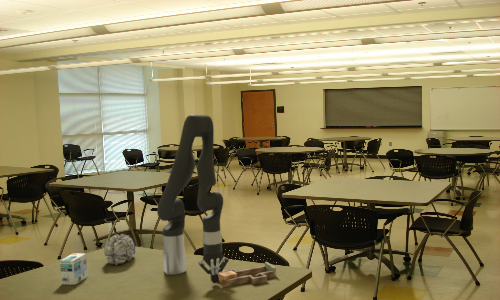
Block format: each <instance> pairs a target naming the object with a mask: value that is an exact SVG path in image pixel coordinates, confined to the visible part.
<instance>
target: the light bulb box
mask: <svg viewBox="0 0 500 300" xmlns="http://www.w3.org/2000/svg"><path fill="white" fill-rule="evenodd" d="M87 259H88V257H87V253H81V252H80V253H76V252H75V253H74V252H73V253H71V254H70V255H68V256H65V257H64V258H61V259H60V260H59V265H60V266H59V267H60V278H61V285H69V286H71V285H74V286H75V285H76V284H79V283H80V282H82V281H84V280H85V279H87V278H89V276H88V275H89V273H88V271H89V270H88V261H87Z"/></svg>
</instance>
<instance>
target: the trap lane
mask: <svg viewBox="0 0 500 300" xmlns="http://www.w3.org/2000/svg"><path fill="white" fill-rule="evenodd" d="M231 270H232V271H233V272H235V273H237V278H232V279H227V280H221V283H220V284H221V287H222V288H227V287H231V286H232V287H233V286H236V285H237V286H238V285H242V284H246V283H250V284H251V285H252V286H254V285H259V284H263V283H268V279H271V278H277V267H276V266H274V265H273V264H272V263H269V262H268V261H265V262H264V265H261V266H256V267H251V268H246V269H241V270H238V269H237V268H231V269H230V268H229V269H223V271H222V272H226V271H231ZM222 272H220V273H222ZM253 275H254V276H253ZM217 283H219V273H218V281H217Z"/></svg>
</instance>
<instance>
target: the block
mask: <svg viewBox="0 0 500 300" xmlns="http://www.w3.org/2000/svg"><path fill="white" fill-rule="evenodd" d="M218 274H219V281H218V283H219V284H221V280H227V279H232V278H237V273H235V272H233V271H232V270H231V271H226V272H222V273H221V272H219V273H218Z"/></svg>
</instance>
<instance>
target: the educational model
mask: <svg viewBox="0 0 500 300" xmlns="http://www.w3.org/2000/svg"><path fill="white" fill-rule="evenodd" d="M104 245H105V246H104V249H103V253H104V256H105V257H106V258H105V259H106V260H107V261H106V262H107V263H108V264H111V265H113V264H114V265H116V266H117V265H118V264H119V265H120V264H124V263H125V262H126V261H129V262H130V261H131V260H132V259H133V256H134V255H135V254H136V245H135V242H134V240H133V238H132V237H130V236H128V235H127V234H124V233H121V234H118V233H115V234H114V235H112V236H111V237H110V238H109V239H107V240H106V242H105V244H104Z"/></svg>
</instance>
